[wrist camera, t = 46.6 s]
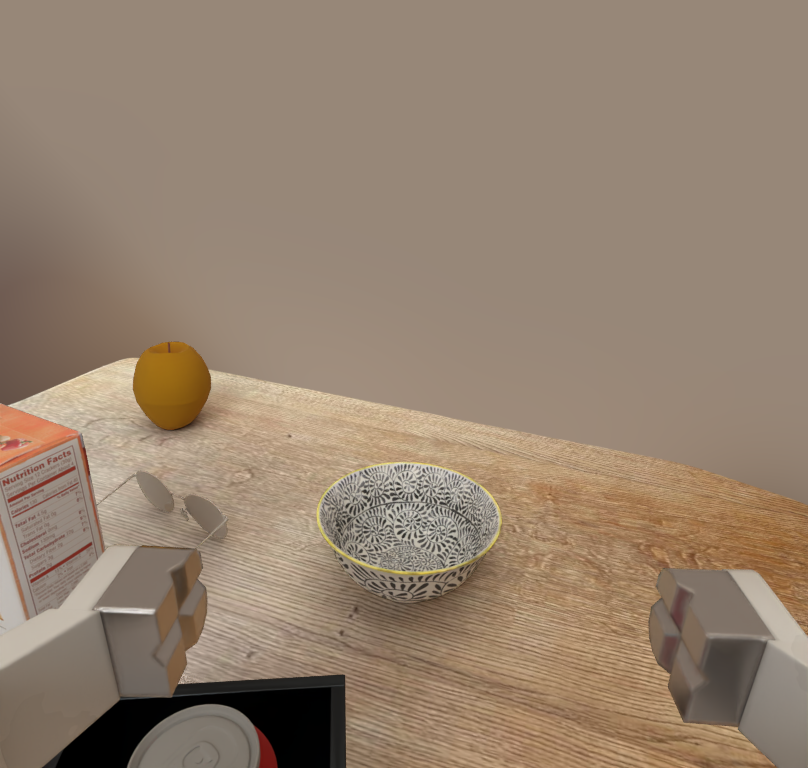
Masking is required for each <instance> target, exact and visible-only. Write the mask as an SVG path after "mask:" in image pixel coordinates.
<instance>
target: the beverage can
mask: <svg viewBox="0 0 808 768" xmlns="http://www.w3.org/2000/svg"><path fill="white" fill-rule="evenodd" d="M127 768H278V767H277V761H276V756H275V753H274V750H273V748H272V746H271V744H270V742H269V741H268V739H267V738H266V737H265V735H264V734H263V733H262V732H261V731H260V730H259V729H258V728H257V727H255V726H254V725H253V724H252V723H251V721H250V720H249V719H248V718H247V717H246V716H245V715H244V714H242V713H241V712H240V711H238V710H236V709H234V708H231V707H228V706H224V705H218V704H205V705H198V706H193V707H190V708H186V709H184V710H181V711H179V712H177V713H175V714H173V715H171V716H169V717H168V718H166V719H164V720H163V721H161V722H160V723H159V724H157V725H156V726H155V727H154V728H153V729H152V730H151V731H150V732H149V733H148V734H147V735H146V736H145V737H144V738H143V739H142V741H141V742H140V743H139V745H138V746H137V748H136V749H135V751H134V753H133V755H132V756H131V758H130V761H129V764H128V766H127Z"/></svg>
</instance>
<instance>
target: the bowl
mask: <svg viewBox="0 0 808 768" xmlns="http://www.w3.org/2000/svg"><path fill="white" fill-rule="evenodd" d="M317 523H318V526H319V529H320V532H321V534H322V535H323V537H324V538H325V540H326V541H327V542H328V544H329V545H330V546H331V548H332V550H333V552H334V554H335V556H336V558H337V560H338V562H339V564H340V565H341V566H342V568H343V569H344V570H345V572H346V573H347V574H348V575H349V576H350V577H351V578H352V579H353V580H354V581H355V582H356V583H357V584H358V585H360V586H361V587H362V588H364V589H366V590H367V591H369V592H371V593H373V594H375V595H378V596H380V597H383V598H387V599H389V600H391V601H395V602H400V603H416V602H420V601H424V600H430V599H434V598H437V597H440V596H442V595H445V594H447V593H449V592H451V591H453V590H454V589H456V588H457V587H459V586H461V585H462V584H463V583H464V582H465V581H466V580H467V579H468V578H469V577H470V576H471V575H472V574H473V572H474V571H475V570H476V569H477V567H478V566H479V564H480V562H481V561H482V560H483V558H484V556H485V555H486V553H487V552H488V551H489V550H490V549H491V547H492V546H493V545H494V544H495V542H496V540H497V538H498V536H499V534H500V531H501V527H502V516H501V512H500V509H499V506H498V504H497V502H496V501H495V499H494V498H493V496H492V495H491V494H490V493H489V492H488V491H487V490H486V489H485V488H484V487H483V486H482V485H480V484H479V483H478V482H476V481H474V480H473V479H471V478H470V477H468V476H466V475H464V474H461V473H459V472H457V471H454V470H451V469H448V468H445V467H441V466H437V465H432V464H426V463H418V462H390V463H382V464H376V465H371V466H367V467H364V468H361V469H358V470H355V471H353V472H350V473H349V474H347V475H345V476H343V477H341V478H340V479H338V480H337V481H335V482H334V483H333V484H332V485H331V486H330V487H329V488H328V489H327V490H326V491H325V492H324V494H323V495H322V497H321V499H320V501H319V503H318V507H317Z"/></svg>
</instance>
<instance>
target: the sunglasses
mask: <svg viewBox="0 0 808 768" xmlns="http://www.w3.org/2000/svg"><path fill="white" fill-rule="evenodd" d="M134 476H135V477H136V479H137V482H138V484H139V486H140V488H141V490H142V492H143V493H144V495H145V496H146V498H147V499H148V500H149V501H150V502H151V503H152V504H153V505H154V506H155V507H157V508H158V509H160V510H161V511H164V512H171V511H172V510H173V509H174V500H173V497H172V494H173V495H175V496H176V497H179V498H181V499H183V500H184V503H185V506H186V509H187V511H188V512H189V513H190V515H191V516H192V517H193V518H194V519H195V521H196V522H197V523H198V524H199V525H200V526H201V527H202V528H203V529H204V530H205V531H207V532H208V533H210V535H209V536H208V537H207V538H205V539H204V540H203V541H202V542H201V543H200V544H199V545H198V546H197V547H196V548H195V549H197V548H198V547H199V546H200V545H202V544H203V543H204V542H205V541H206V540H207V539H208V538H209V537H210V536H212V535H213V536H215V537H217V538H220V539H223V538H225V537H226V535H227V524H226V522H227V521H228V517H227V516H226V515H223V514H222V512H221V511H220V509H219V508H218V507H217V506H216V505H215V504H214V503H213V502H212V501H210V500H208V499H207V498H204V497H202V496H199V495H196V494H189V495H187V496H186V497H185V499H184V498H183V497H181V496H178V495H176V494H174V493H171V492H170V491H169V489H168V488H167V486H166V485H165V484H164V483H163V482H162V481H161V480H160V479H159V478H158V477H156V476H155V475H153V474H151V473H149V472H146V471H142V470H140V471H138V472H137V473H136V474H133V475H131V476H130V477H129V478H127V479H126V480H125V481H124V482H123V483H121V484H120V485H119V486H118V487H117V488H116V489H114V490H113V491H112V492H111V493H110V494H108V495H107V496H106V497H105V498H104V499H106V498H107V497H108V496H109V495H111V494H112V493H113V492H115V491H116V490H117V489H118V488H120V487H121V486H122V485H123V484H125V483H126V482H127V481H128V480H130V479H131V478H132V477H134ZM104 499H103V500H104ZM103 500H101V501H100V502H99V503H101V502H102V501H103ZM99 503H98V504H99ZM98 504H97V505H98ZM186 509H185V510H186ZM185 510H183V508H181V510H180V511H181V514H182V516H183V517H184V518H185V519H186V520H187V521H188V520H189V518H188V516H187V513H186V512H185ZM225 518H226V519H225Z"/></svg>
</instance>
